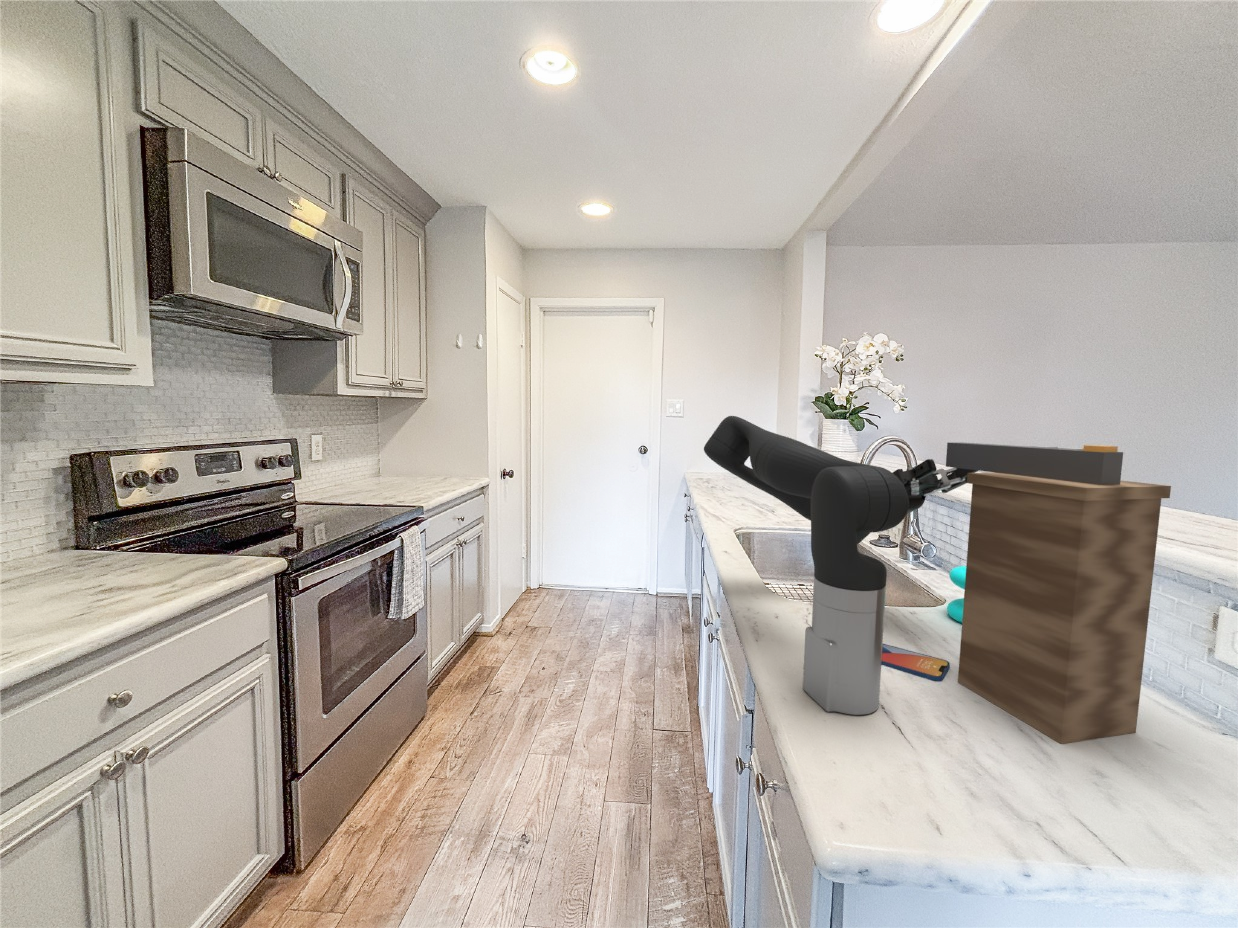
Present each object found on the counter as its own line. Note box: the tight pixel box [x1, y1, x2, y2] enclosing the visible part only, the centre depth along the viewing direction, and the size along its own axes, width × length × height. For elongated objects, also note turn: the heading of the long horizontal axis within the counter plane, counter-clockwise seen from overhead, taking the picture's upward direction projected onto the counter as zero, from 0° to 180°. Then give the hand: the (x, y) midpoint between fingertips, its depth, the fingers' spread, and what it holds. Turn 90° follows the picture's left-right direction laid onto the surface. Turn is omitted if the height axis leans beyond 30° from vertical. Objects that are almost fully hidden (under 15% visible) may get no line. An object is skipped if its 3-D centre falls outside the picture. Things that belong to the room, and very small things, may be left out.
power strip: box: [945, 441, 1124, 485], centre depth 74 cm, size 3×23×5 cm, turn 12°
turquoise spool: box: [946, 565, 966, 624], centre depth 101 cm, size 10×10×10 cm
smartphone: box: [881, 643, 951, 683], centre depth 85 cm, size 7×15×1 cm, turn 47°
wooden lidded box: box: [957, 472, 1172, 745], centre depth 70 cm, size 13×16×32 cm
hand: (955, 463), depth 85 cm, fingers open, 8 cm apart
